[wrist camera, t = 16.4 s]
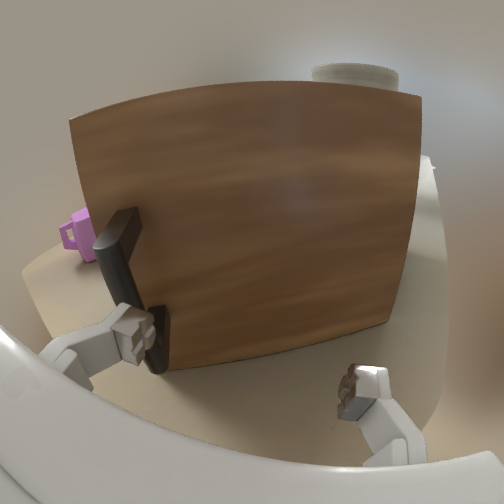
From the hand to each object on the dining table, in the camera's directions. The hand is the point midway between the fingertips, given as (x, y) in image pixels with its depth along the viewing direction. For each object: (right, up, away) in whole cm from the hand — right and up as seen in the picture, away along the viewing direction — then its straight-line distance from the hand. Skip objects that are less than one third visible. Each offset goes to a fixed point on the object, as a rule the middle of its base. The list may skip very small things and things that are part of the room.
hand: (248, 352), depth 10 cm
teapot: (-31, +5, +42) cm, 53 cm away
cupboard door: (+4, -7, +14) cm, 16 cm away
